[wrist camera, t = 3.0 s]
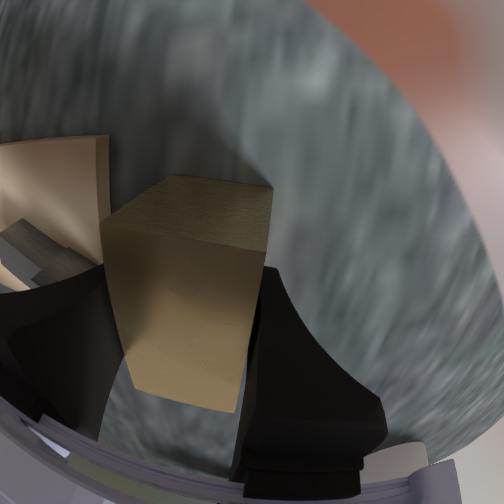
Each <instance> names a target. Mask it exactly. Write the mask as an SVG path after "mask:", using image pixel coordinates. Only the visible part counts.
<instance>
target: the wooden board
mask: <svg viewBox="0 0 504 504" xmlns="http://www.w3.org/2000/svg"><path fill="white" fill-rule="evenodd" d="M109 136H110V135H88V136H67V137H53V138H42V139H33V140H24V141H17V142H10V143H3V144H0V232H2V231H3V230H5V229H6V228H8V227H9V226H11V225H12V224H14V223H15V222H17V221H18V220H20V219H22V218H23V219H25V220H26V221H27V222H29V223H30V224H32V225H33V226H34V227H36V228H37V229H38V230H40V231H41V232H43V233H44V234H46V235H47V236H48V237H50V238H51V239H53V240H54V241H56V242H57V243H59V244H60V245H62V246H63V247H65V248H67V247H70V248H72V249H73V250H75V251H76V252H78V253H79V254H81V255H83V256H84V257H86V258H87V259H89V260H91V261H92V262H94V263H96V264H97V265H100V264H103V263H104V262H103V255H102V248H101V240H100V232H99V223H100V222H102V221H103V220H104V219H106V218H107V217H108V216H110V215H111V207H110V186H109ZM0 283H1V284H3V285H5V286H7V287H9V288H11V289H13V290H16V291H24V290H29V289H30V288H29V287H28V286H26V285H25V284H24V283H23V282H21V281H20V280H19V279H18V278H17V277H15V276H14V275H13V274H12V273H11V272H10V271H9V270H7V269H6V268H5V267H4V266H3V265H2V264H1V261H0Z"/></svg>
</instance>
